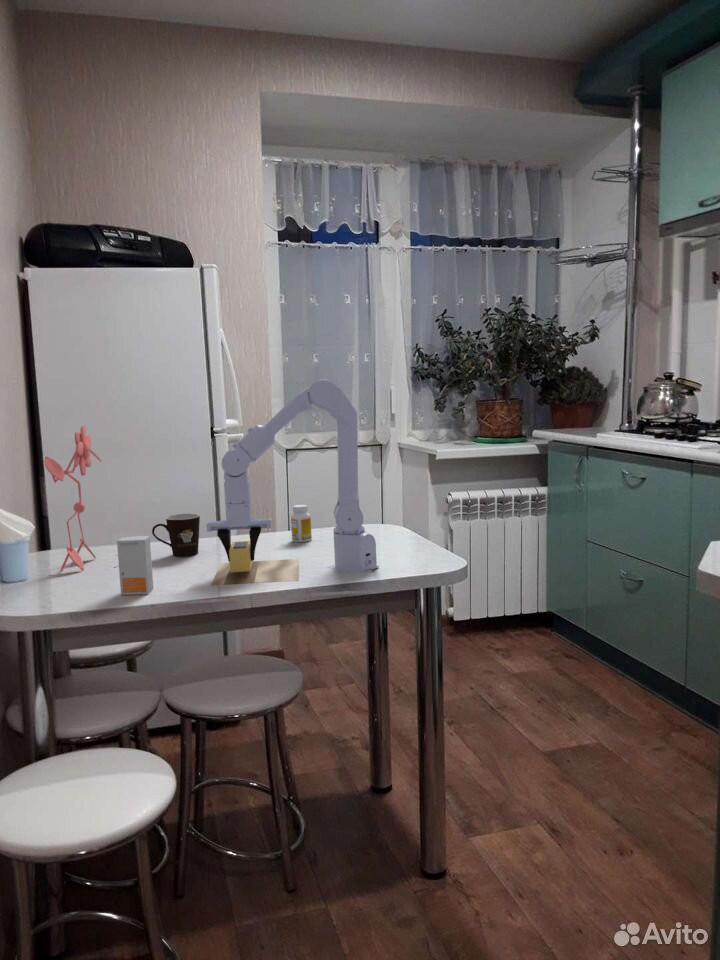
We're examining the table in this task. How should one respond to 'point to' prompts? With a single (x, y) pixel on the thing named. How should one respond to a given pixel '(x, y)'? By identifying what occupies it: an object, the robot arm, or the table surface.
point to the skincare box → (135, 565)
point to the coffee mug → (182, 534)
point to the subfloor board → (259, 572)
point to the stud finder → (240, 556)
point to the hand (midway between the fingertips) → (241, 560)
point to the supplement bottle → (301, 524)
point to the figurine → (83, 461)
